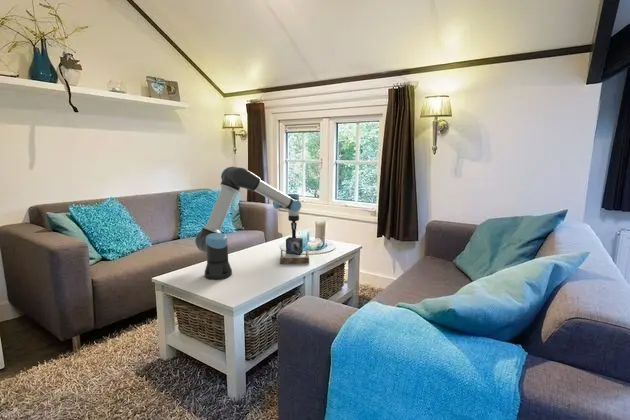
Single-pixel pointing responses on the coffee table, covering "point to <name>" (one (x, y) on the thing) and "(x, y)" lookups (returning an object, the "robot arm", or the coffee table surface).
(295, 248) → the small box
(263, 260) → the coffee table surface
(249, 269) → the coffee table surface
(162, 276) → the coffee table surface
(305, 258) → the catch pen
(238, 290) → the coffee table surface
